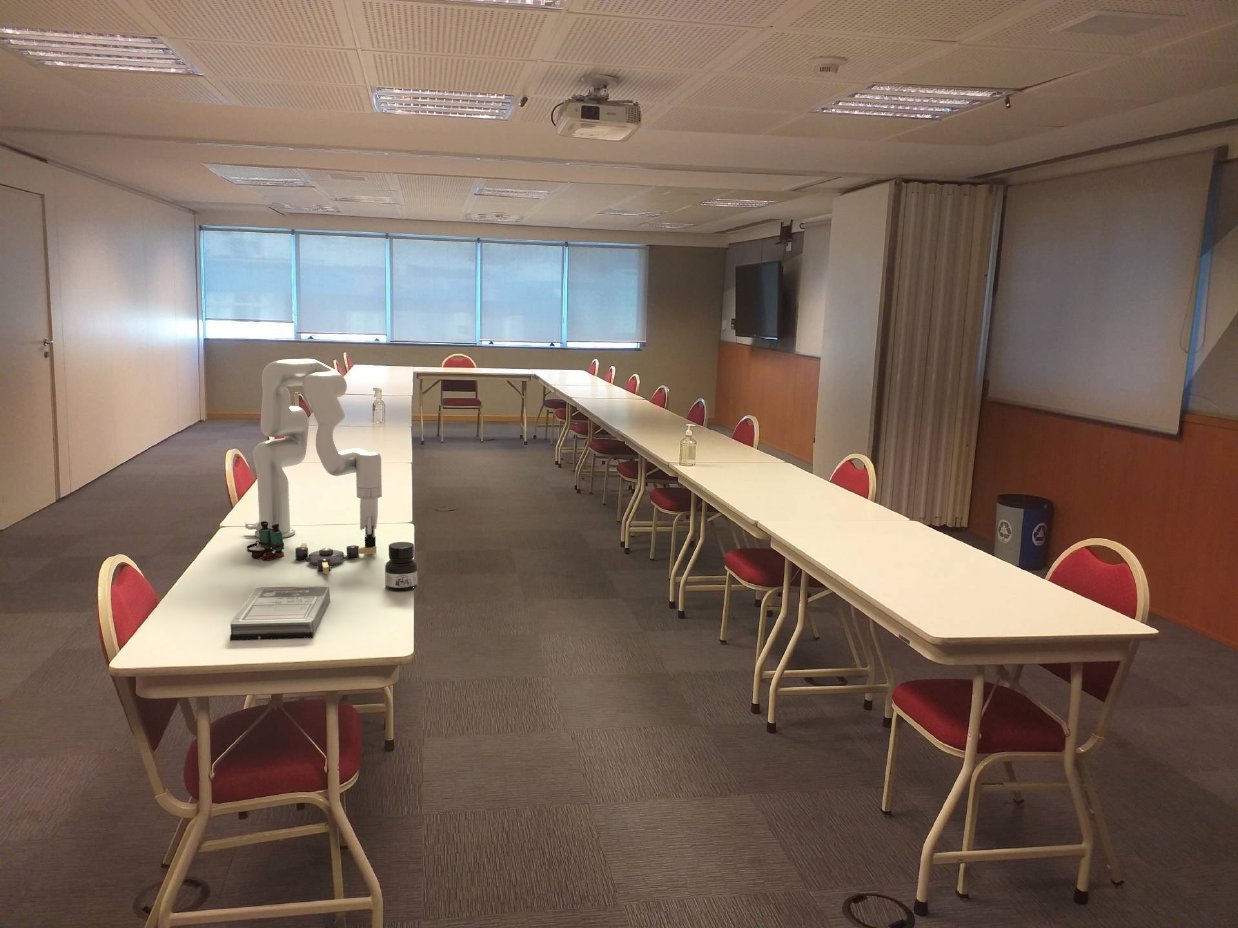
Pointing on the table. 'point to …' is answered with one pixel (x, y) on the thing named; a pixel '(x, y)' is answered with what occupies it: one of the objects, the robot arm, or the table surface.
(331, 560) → the tribrach plate
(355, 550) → the knob
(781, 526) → the table surface
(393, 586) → the ink bottle
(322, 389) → the robot arm
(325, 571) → the knob
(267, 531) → the binoculars
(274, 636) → the hard drive
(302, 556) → the knob
